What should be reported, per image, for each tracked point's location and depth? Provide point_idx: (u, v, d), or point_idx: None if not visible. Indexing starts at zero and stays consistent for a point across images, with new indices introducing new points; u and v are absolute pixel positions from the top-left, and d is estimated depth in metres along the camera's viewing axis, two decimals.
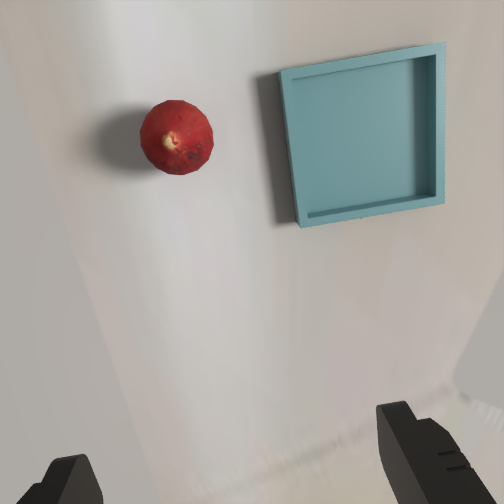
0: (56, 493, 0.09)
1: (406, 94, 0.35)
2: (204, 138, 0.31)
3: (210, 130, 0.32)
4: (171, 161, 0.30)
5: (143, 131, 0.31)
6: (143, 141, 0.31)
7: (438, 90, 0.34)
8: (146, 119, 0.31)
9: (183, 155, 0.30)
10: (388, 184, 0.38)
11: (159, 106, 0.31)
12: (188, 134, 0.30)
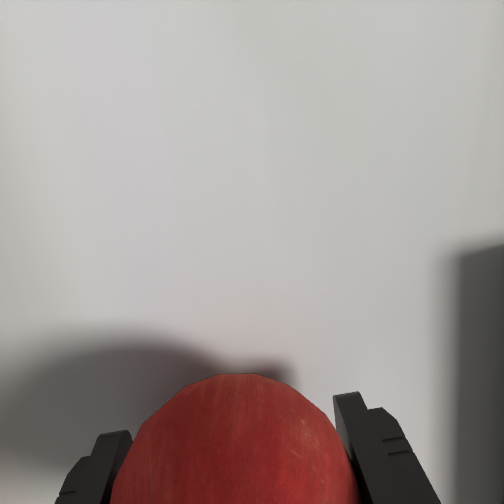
0: (106, 464, 0.10)
1: None
2: None
3: None
4: None
5: None
6: None
7: None
8: None
9: None
10: None
11: (180, 466, 0.08)
12: None
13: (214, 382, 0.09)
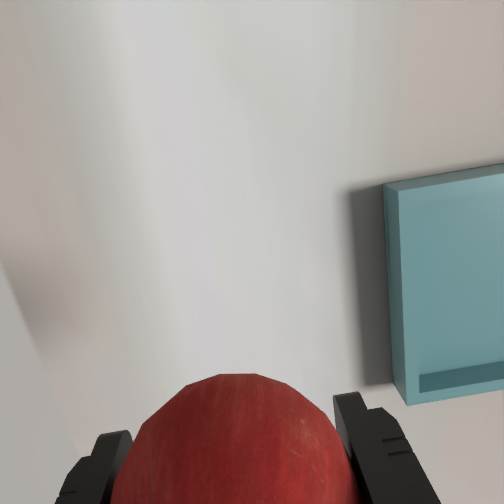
0: (107, 464, 0.10)
1: None
2: None
3: None
4: None
5: None
6: None
7: None
8: None
9: None
10: None
11: (181, 465, 0.08)
12: None
13: (214, 382, 0.09)
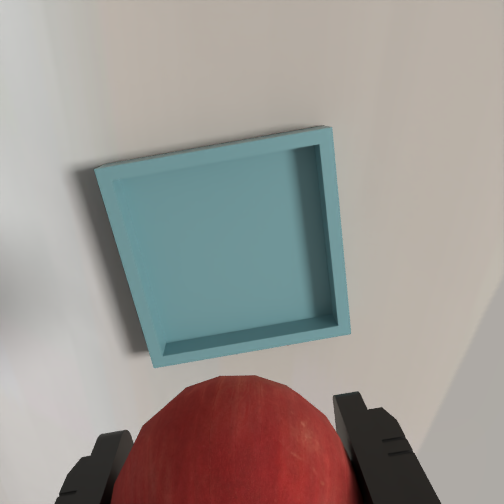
0: (107, 464, 0.10)
1: (289, 191, 0.25)
2: None
3: None
4: None
5: None
6: None
7: (327, 192, 0.24)
8: None
9: None
10: (277, 304, 0.28)
11: (181, 468, 0.08)
12: None
13: (215, 384, 0.09)
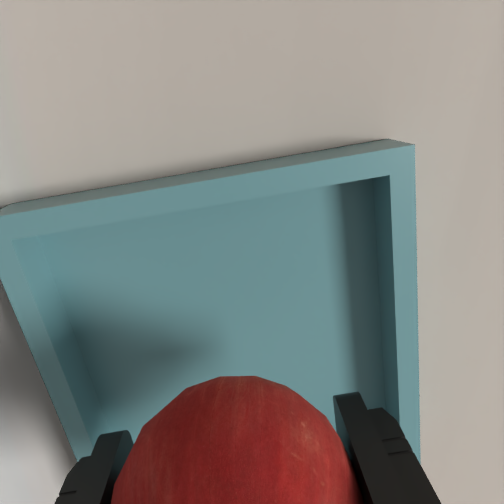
0: (106, 464, 0.10)
1: (327, 250, 0.15)
2: None
3: None
4: None
5: None
6: None
7: (399, 257, 0.13)
8: None
9: None
10: None
11: (181, 468, 0.08)
12: None
13: (215, 384, 0.09)
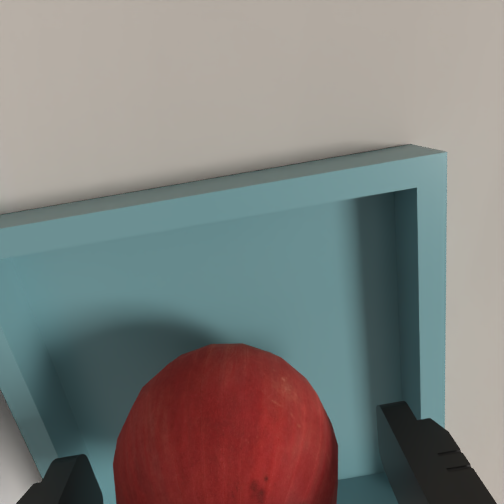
0: (56, 493, 0.09)
1: (341, 270, 0.13)
2: None
3: (337, 452, 0.10)
4: None
5: (121, 498, 0.09)
6: None
7: (425, 282, 0.12)
8: (131, 459, 0.09)
9: None
10: None
11: (176, 413, 0.09)
12: None
13: (206, 348, 0.11)
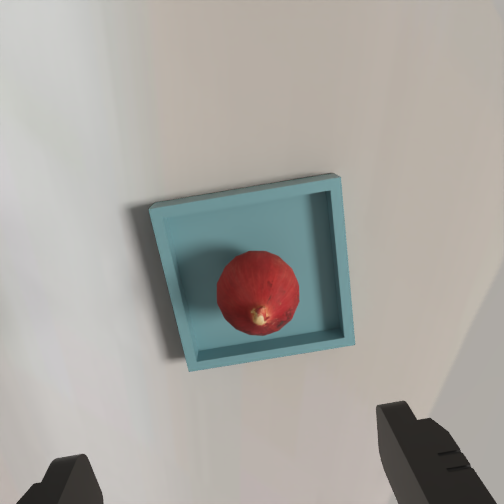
0: (56, 493, 0.09)
1: (305, 226, 0.31)
2: (294, 301, 0.26)
3: (298, 287, 0.27)
4: (257, 331, 0.26)
5: (223, 294, 0.26)
6: (223, 304, 0.27)
7: (336, 228, 0.29)
8: (227, 280, 0.26)
9: (272, 326, 0.26)
10: (292, 319, 0.33)
11: (242, 265, 0.26)
12: (280, 303, 0.25)
13: None
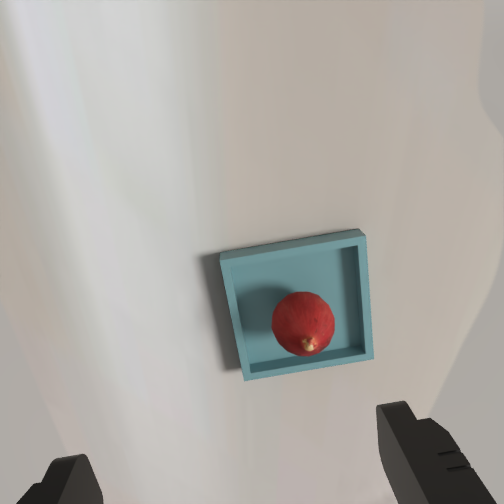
0: (56, 493, 0.09)
1: (336, 269, 0.39)
2: (332, 331, 0.35)
3: (334, 319, 0.36)
4: (305, 354, 0.35)
5: (279, 326, 0.35)
6: (279, 334, 0.35)
7: (362, 272, 0.38)
8: (282, 316, 0.35)
9: (317, 351, 0.35)
10: None
11: (293, 305, 0.35)
12: (323, 334, 0.34)
13: None
